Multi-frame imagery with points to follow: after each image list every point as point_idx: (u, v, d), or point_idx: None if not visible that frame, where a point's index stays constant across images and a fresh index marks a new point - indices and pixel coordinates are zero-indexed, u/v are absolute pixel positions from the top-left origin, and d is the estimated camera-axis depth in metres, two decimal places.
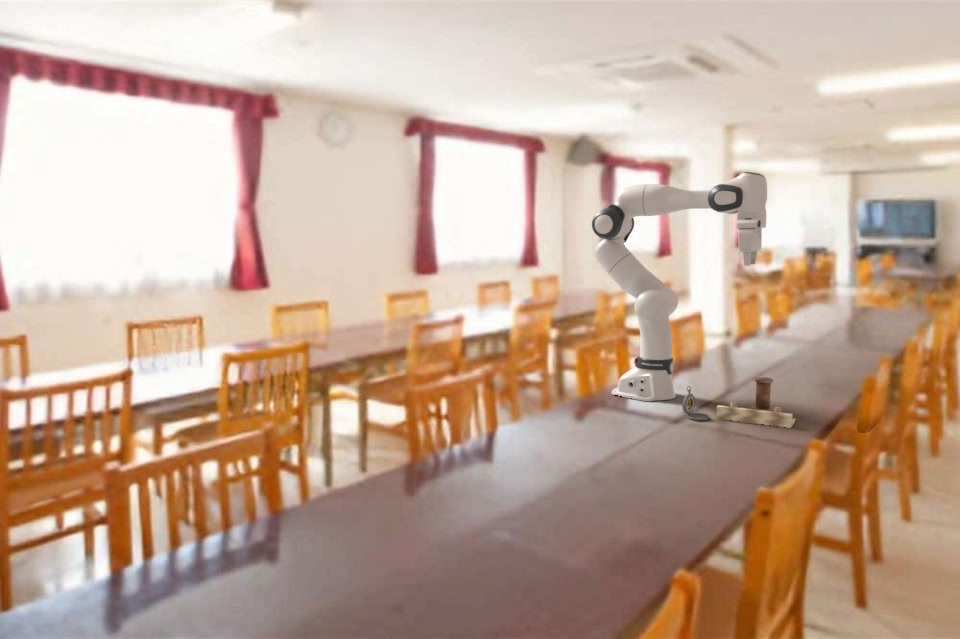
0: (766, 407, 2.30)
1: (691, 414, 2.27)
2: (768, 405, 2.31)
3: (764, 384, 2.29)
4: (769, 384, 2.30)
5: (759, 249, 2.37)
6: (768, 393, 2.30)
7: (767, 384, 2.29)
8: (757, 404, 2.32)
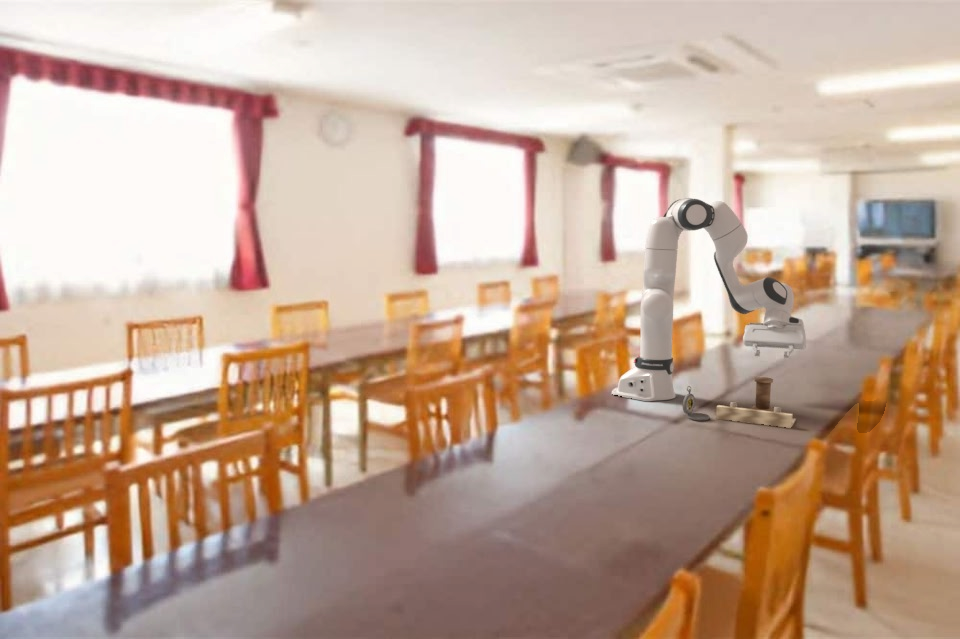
0: (766, 407, 2.30)
1: (691, 414, 2.27)
2: (768, 405, 2.31)
3: (764, 384, 2.29)
4: (769, 384, 2.30)
5: (753, 346, 2.48)
6: (768, 393, 2.30)
7: (767, 384, 2.29)
8: (757, 404, 2.32)
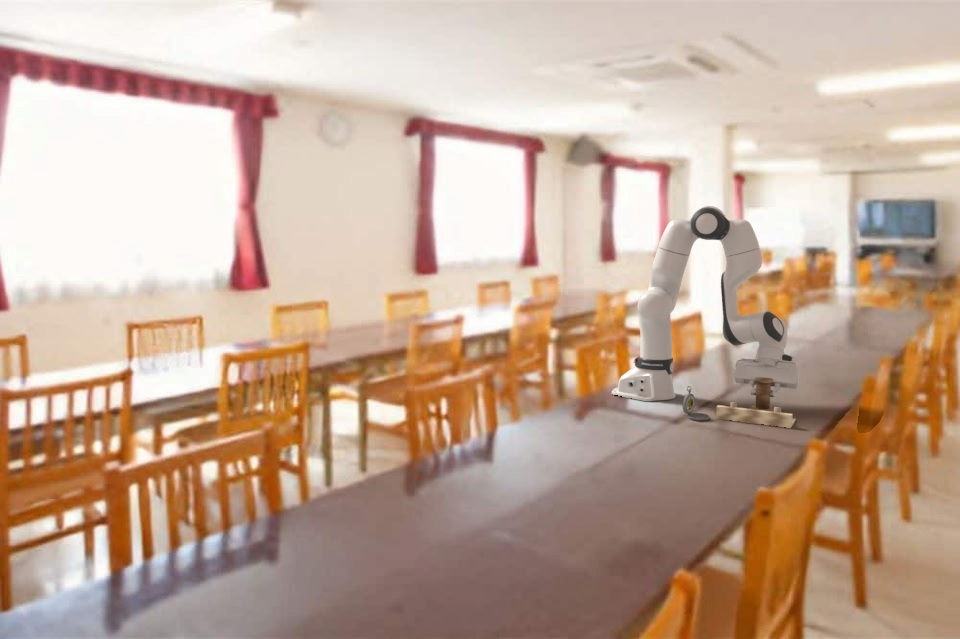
0: (766, 407, 2.30)
1: (691, 414, 2.27)
2: (768, 405, 2.31)
3: (764, 384, 2.29)
4: (769, 384, 2.30)
5: (743, 383, 2.39)
6: (768, 393, 2.30)
7: (767, 384, 2.29)
8: (757, 404, 2.32)
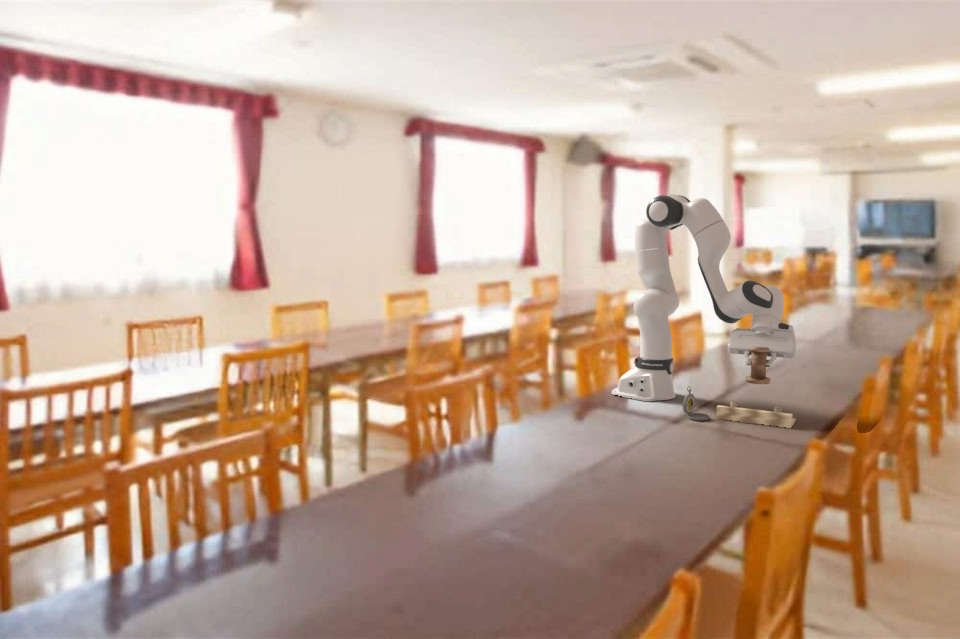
0: (762, 377, 2.20)
1: (691, 414, 2.27)
2: (764, 375, 2.20)
3: (760, 353, 2.19)
4: (765, 353, 2.19)
5: None
6: (764, 363, 2.19)
7: (763, 353, 2.19)
8: (752, 374, 2.21)
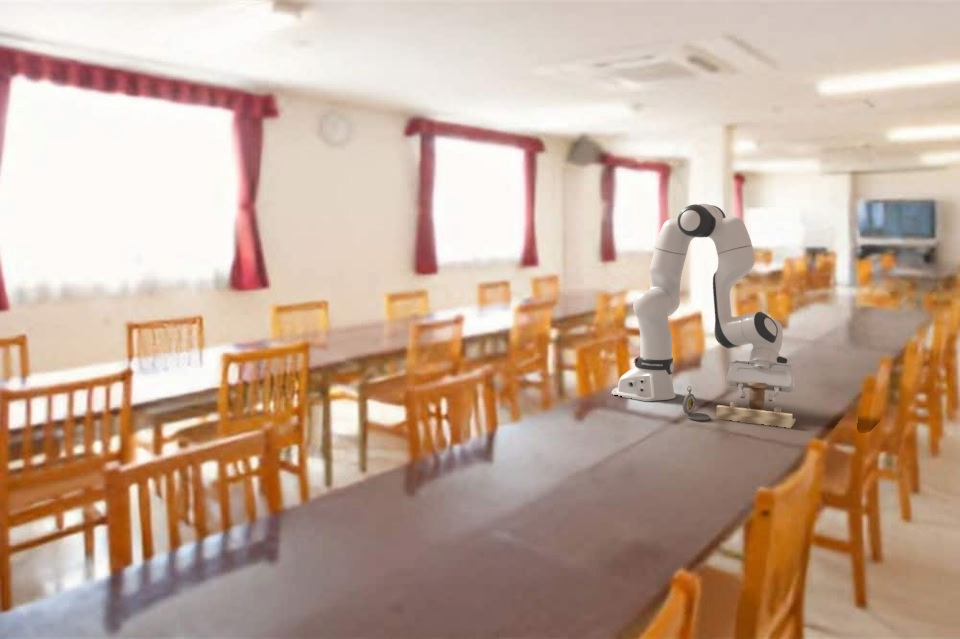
0: None
1: (691, 414, 2.27)
2: None
3: (758, 389, 2.20)
4: (763, 389, 2.20)
5: (737, 386, 2.29)
6: (762, 398, 2.21)
7: (761, 389, 2.20)
8: None
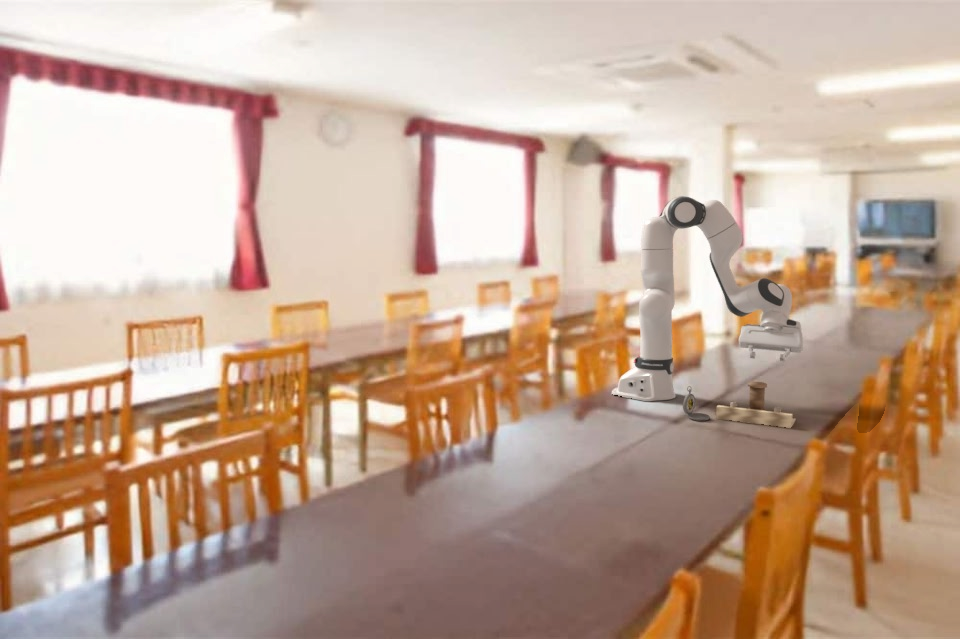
0: None
1: (691, 414, 2.27)
2: None
3: (758, 389, 2.20)
4: (763, 389, 2.20)
5: None
6: (762, 398, 2.21)
7: (761, 389, 2.20)
8: None
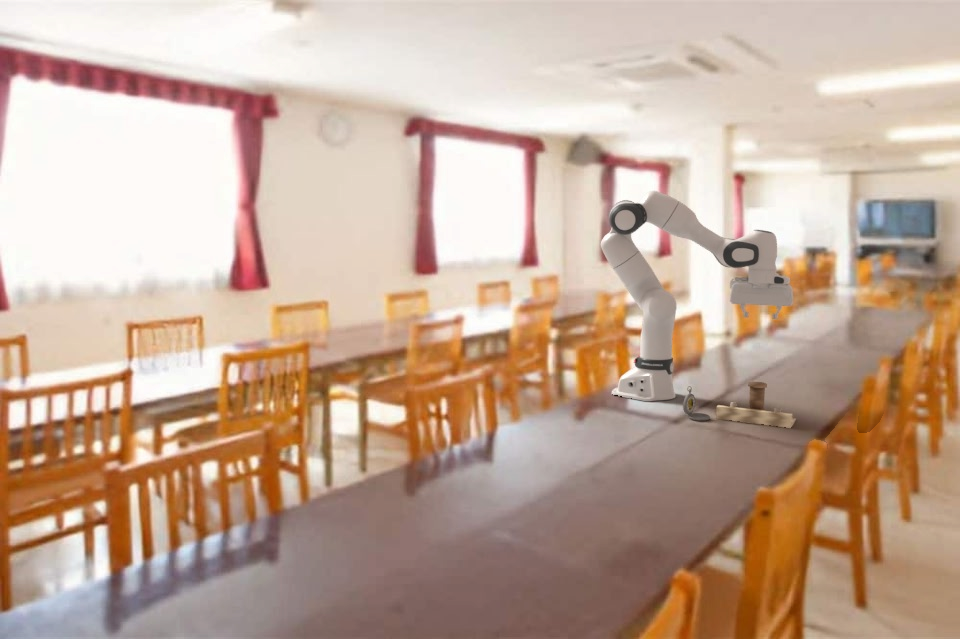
0: None
1: (692, 414, 2.27)
2: None
3: (758, 389, 2.20)
4: (763, 389, 2.20)
5: None
6: (762, 398, 2.21)
7: (761, 389, 2.20)
8: None
